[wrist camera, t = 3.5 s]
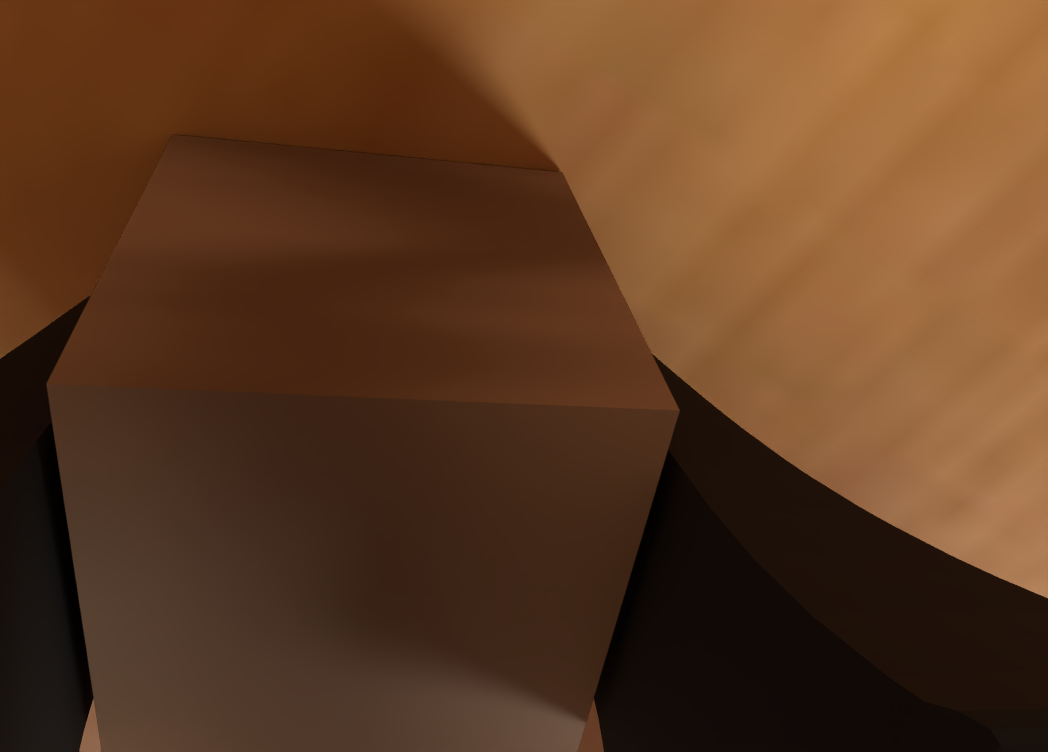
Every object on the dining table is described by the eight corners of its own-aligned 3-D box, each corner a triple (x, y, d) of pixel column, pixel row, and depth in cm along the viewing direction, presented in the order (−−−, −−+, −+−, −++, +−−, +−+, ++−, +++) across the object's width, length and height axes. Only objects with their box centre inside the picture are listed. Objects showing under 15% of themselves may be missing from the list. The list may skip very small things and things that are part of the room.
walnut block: (561, 172, 11) (679, 409, 7) (509, 461, 14) (573, 765, 9) (172, 134, 10) (47, 383, 6) (189, 451, 13) (107, 785, 8)
